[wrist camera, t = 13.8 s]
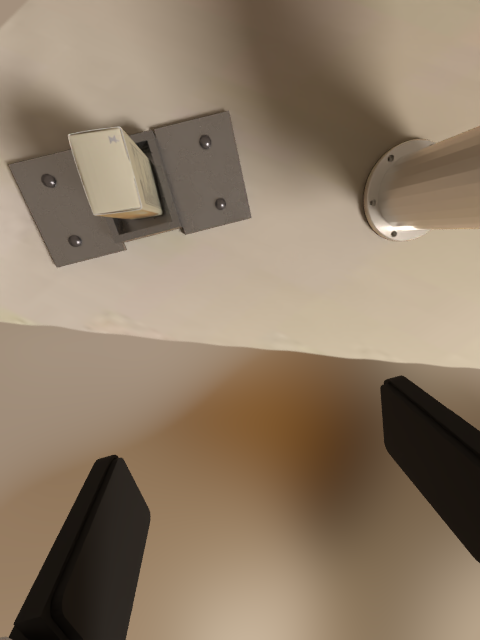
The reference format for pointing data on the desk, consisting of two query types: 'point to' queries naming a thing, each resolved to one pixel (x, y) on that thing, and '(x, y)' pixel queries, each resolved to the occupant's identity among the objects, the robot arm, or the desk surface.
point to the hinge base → (173, 182)
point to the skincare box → (115, 174)
